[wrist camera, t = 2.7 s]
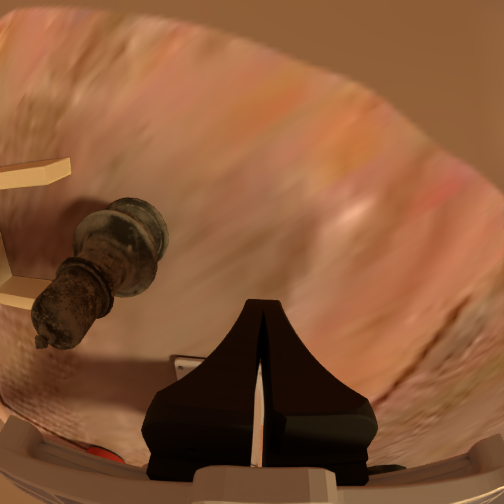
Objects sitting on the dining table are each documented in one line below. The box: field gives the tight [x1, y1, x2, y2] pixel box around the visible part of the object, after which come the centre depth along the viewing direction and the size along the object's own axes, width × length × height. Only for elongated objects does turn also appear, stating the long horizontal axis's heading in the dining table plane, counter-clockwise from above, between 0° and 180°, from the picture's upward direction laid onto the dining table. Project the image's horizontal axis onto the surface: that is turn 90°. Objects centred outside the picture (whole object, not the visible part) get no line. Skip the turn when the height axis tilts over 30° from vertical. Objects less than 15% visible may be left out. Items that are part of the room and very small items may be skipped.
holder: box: [0, 157, 71, 310], centre depth 20 cm, size 11×11×3 cm
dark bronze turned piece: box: [31, 198, 168, 350], centre depth 15 cm, size 6×6×12 cm
